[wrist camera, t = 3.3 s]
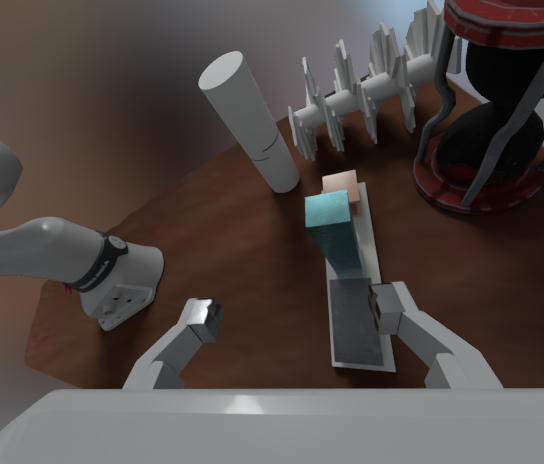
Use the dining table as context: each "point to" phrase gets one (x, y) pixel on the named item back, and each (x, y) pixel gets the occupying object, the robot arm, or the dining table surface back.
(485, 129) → the hourglass
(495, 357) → the dining table surface
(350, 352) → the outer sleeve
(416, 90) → the spiral staircase
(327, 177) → the salmon pink block
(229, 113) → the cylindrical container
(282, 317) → the dining table surface
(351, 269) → the teal oblong box
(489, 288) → the dining table surface
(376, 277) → the base board
